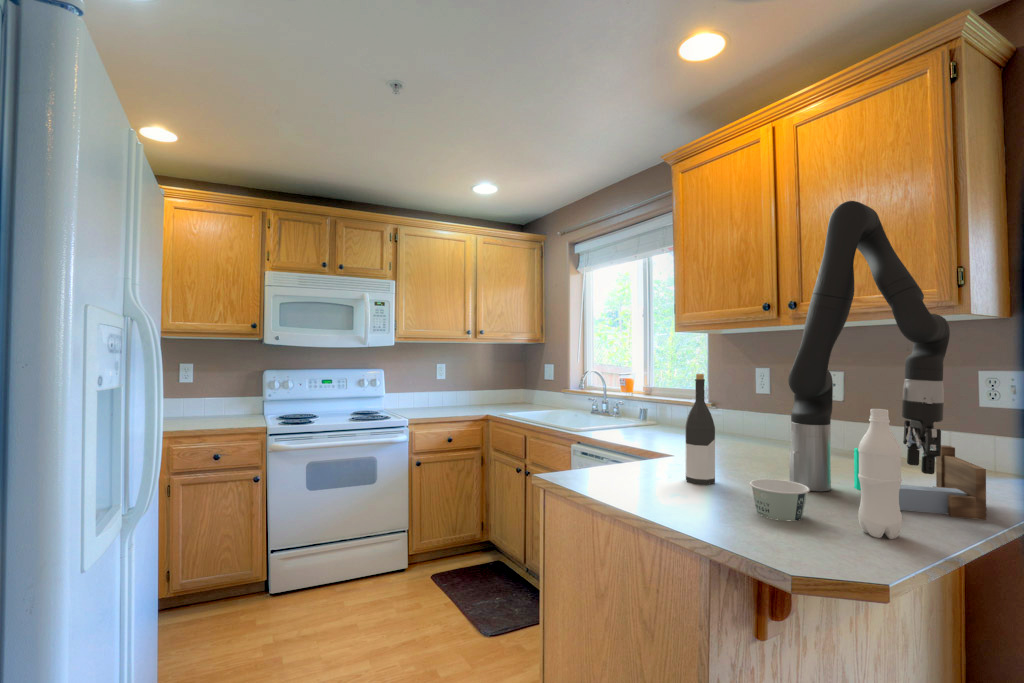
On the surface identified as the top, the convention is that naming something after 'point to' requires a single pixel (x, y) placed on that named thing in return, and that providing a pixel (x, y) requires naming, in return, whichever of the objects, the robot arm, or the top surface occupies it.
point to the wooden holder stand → (962, 484)
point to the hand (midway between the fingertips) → (920, 469)
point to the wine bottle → (700, 440)
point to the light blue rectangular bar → (926, 498)
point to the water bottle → (880, 478)
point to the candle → (856, 469)
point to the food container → (779, 498)
